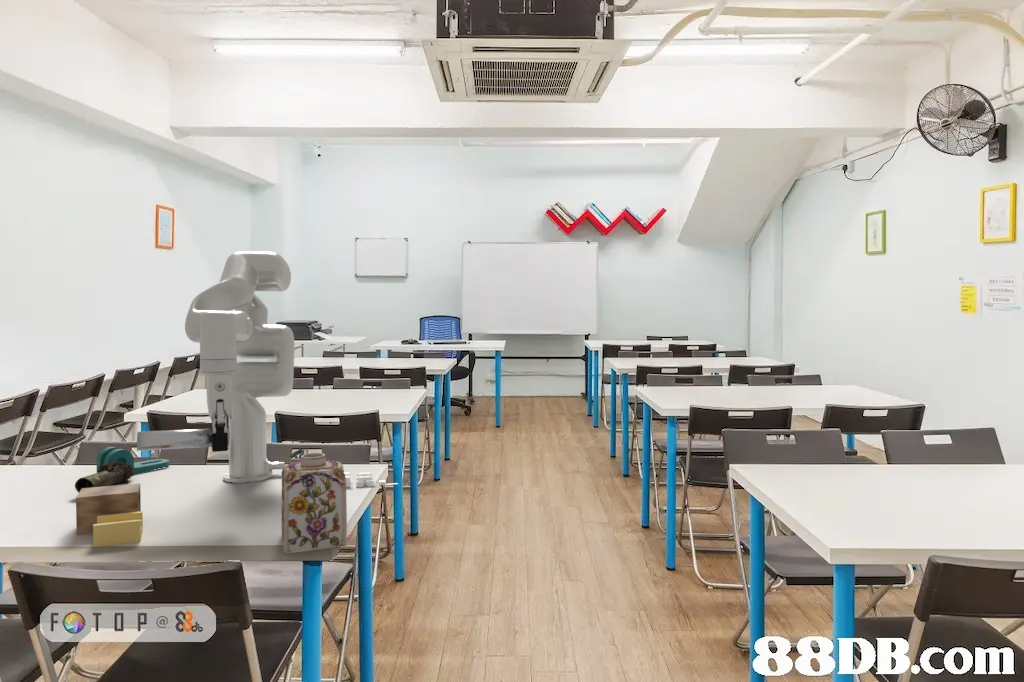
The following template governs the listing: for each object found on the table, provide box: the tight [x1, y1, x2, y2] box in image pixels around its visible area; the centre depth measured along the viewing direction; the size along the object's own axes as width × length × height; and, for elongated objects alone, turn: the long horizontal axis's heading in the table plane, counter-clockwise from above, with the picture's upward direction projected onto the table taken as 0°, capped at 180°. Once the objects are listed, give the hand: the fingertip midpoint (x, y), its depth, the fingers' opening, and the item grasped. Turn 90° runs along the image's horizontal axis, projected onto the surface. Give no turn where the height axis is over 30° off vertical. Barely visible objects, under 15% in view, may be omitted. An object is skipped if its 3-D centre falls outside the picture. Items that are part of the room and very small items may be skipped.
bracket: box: [96, 446, 170, 475], centre depth 194 cm, size 18×7×8 cm, turn 145°
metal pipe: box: [74, 461, 135, 493], centre depth 176 cm, size 18×7×6 cm, turn 177°
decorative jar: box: [280, 452, 348, 554], centre depth 135 cm, size 12×12×18 cm
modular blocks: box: [344, 471, 399, 488], centre depth 180 cm, size 20×7×4 cm, turn 104°
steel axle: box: [136, 427, 230, 451], centre depth 149 cm, size 18×4×4 cm, turn 116°
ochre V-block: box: [92, 510, 144, 548], centre depth 137 cm, size 8×7×4 cm
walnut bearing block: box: [75, 482, 142, 536], centre depth 145 cm, size 11×8×8 cm
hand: (219, 448), depth 153 cm, fingers closed on steel axle, 4 cm apart
